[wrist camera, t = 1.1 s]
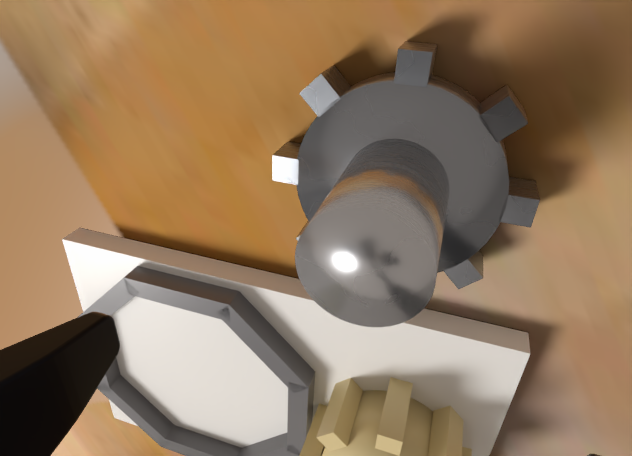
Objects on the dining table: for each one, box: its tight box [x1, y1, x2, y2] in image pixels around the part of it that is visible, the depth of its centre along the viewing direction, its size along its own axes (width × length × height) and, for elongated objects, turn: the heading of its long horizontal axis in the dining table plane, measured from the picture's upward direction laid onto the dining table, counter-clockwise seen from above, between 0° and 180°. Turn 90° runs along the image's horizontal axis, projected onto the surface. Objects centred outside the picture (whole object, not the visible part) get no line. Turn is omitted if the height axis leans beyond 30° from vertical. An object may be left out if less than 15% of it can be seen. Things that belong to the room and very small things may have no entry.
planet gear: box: [273, 41, 540, 327], centre depth 14 cm, size 9×9×6 cm
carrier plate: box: [62, 228, 531, 456], centre depth 23 cm, size 22×14×4 cm, turn 88°
